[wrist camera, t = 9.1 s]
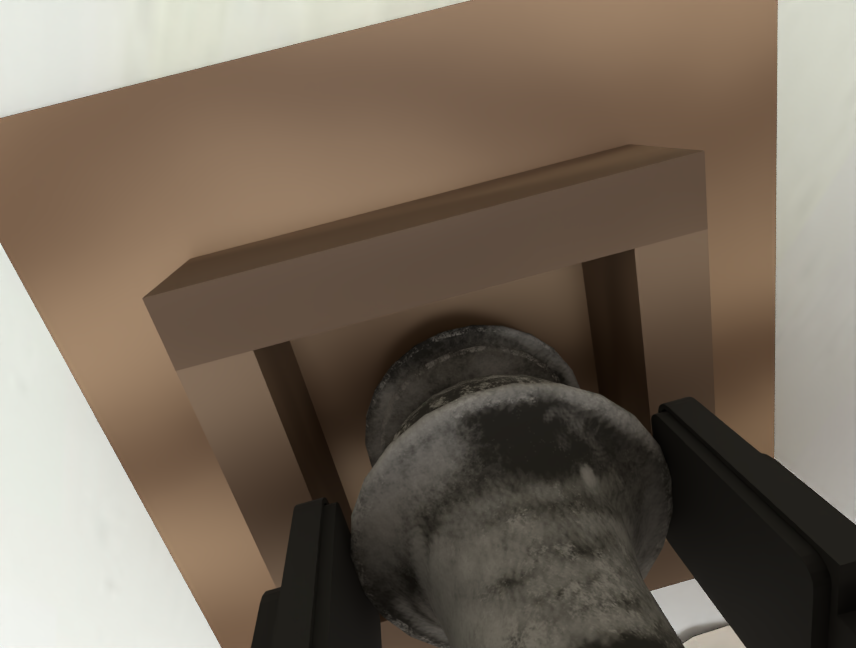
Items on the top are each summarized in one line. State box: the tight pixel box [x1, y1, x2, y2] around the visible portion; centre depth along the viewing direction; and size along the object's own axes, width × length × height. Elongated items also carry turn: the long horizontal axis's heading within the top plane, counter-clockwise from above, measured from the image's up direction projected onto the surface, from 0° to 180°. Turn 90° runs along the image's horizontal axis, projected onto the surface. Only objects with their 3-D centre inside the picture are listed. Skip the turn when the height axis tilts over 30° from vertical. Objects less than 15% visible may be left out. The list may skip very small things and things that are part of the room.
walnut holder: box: [0, 0, 778, 648], centre depth 14 cm, size 18×18×4 cm
